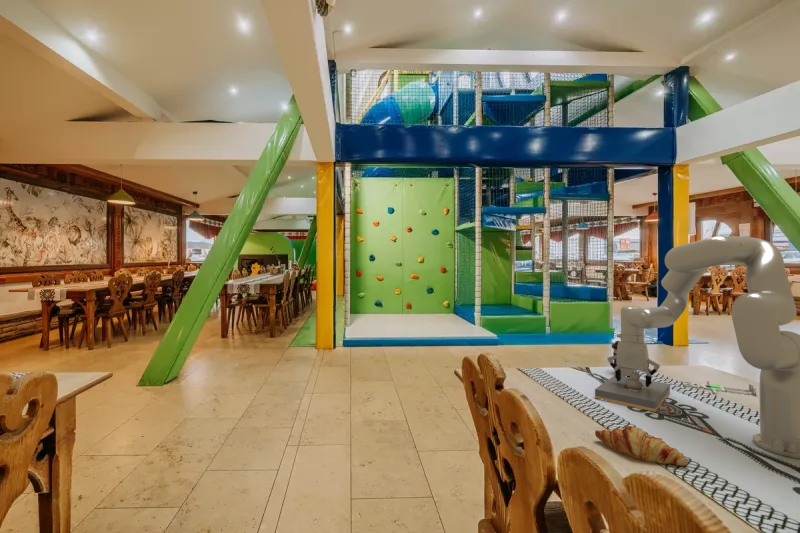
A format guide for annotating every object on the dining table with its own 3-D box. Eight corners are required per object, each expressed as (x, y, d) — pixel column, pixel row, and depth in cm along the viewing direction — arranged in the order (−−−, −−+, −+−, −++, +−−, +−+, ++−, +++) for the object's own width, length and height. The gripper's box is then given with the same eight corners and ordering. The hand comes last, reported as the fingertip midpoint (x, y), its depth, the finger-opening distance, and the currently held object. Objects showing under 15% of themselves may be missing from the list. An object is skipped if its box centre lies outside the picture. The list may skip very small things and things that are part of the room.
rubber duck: (623, 389, 141) (627, 368, 140) (624, 383, 147) (628, 364, 146) (640, 393, 138) (644, 373, 137) (641, 388, 144) (644, 368, 143)
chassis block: (655, 411, 126) (655, 401, 126) (595, 398, 140) (594, 389, 140) (669, 393, 145) (669, 384, 145) (615, 382, 158) (615, 374, 158)
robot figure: (749, 389, 150) (681, 380, 162) (749, 381, 150) (681, 372, 162) (760, 401, 136) (684, 391, 148) (759, 392, 136) (684, 383, 148)
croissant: (689, 477, 94) (691, 444, 96) (685, 473, 87) (687, 438, 90) (597, 448, 108) (601, 420, 111) (588, 443, 102) (592, 413, 104)
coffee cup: (607, 373, 172) (606, 340, 172) (621, 370, 177) (620, 339, 177) (628, 379, 163) (627, 344, 163) (642, 376, 168) (642, 342, 168)
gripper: (604, 337, 146) (605, 380, 146) (657, 343, 134) (657, 390, 134) (610, 334, 151) (610, 376, 151) (661, 340, 139) (662, 385, 139)
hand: (632, 383), depth 142 cm, fingers open, 9 cm apart
